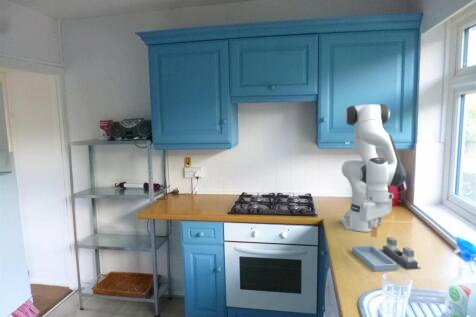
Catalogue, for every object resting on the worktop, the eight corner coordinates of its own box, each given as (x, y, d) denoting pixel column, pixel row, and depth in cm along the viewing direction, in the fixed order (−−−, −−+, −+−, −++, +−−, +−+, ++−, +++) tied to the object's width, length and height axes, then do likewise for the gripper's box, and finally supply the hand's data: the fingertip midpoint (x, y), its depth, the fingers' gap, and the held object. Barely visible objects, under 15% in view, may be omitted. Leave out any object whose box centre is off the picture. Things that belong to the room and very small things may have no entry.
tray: (351, 253, 152) (352, 246, 152) (372, 252, 153) (372, 245, 153) (374, 273, 132) (374, 265, 132) (397, 272, 133) (397, 264, 133)
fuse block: (379, 252, 153) (379, 245, 153) (393, 251, 154) (393, 244, 154) (405, 272, 134) (405, 263, 133) (421, 271, 134) (421, 263, 134)
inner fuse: (386, 251, 152) (387, 237, 151) (391, 251, 152) (391, 237, 151) (391, 255, 148) (392, 240, 147) (396, 255, 148) (396, 240, 147)
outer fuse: (401, 263, 140) (402, 247, 139) (407, 262, 140) (408, 247, 139) (407, 267, 136) (408, 251, 135) (413, 266, 136) (414, 250, 135)
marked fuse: (370, 233, 143) (372, 218, 143) (376, 234, 142) (378, 219, 142) (370, 236, 140) (372, 220, 139) (376, 237, 139) (378, 221, 138)
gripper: (369, 201, 130) (368, 234, 132) (395, 194, 143) (393, 224, 144) (355, 198, 135) (354, 230, 137) (381, 191, 148) (380, 221, 149)
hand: (374, 227), depth 141 cm, fingers closed on marked fuse, 5 cm apart
